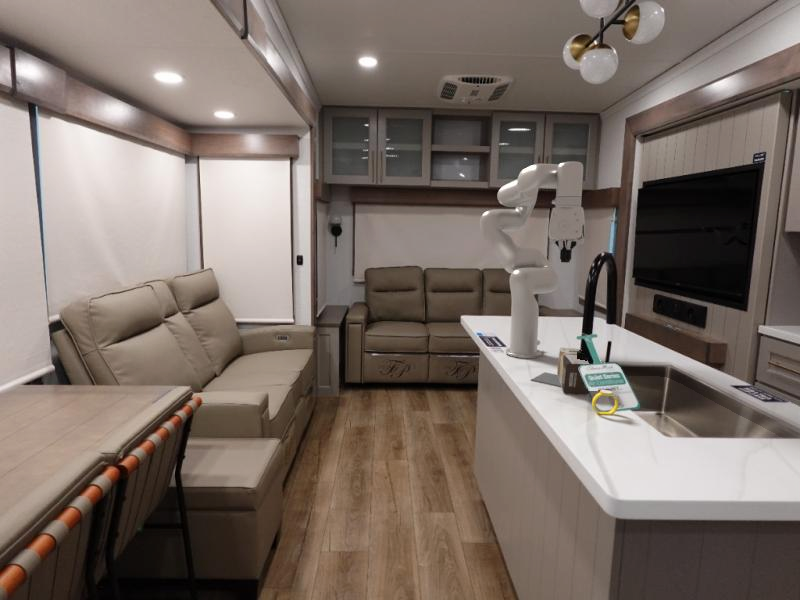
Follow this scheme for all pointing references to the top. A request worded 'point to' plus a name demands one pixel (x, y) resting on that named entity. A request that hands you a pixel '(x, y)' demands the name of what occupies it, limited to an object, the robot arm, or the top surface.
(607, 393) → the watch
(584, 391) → the coffee box
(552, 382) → the mat
